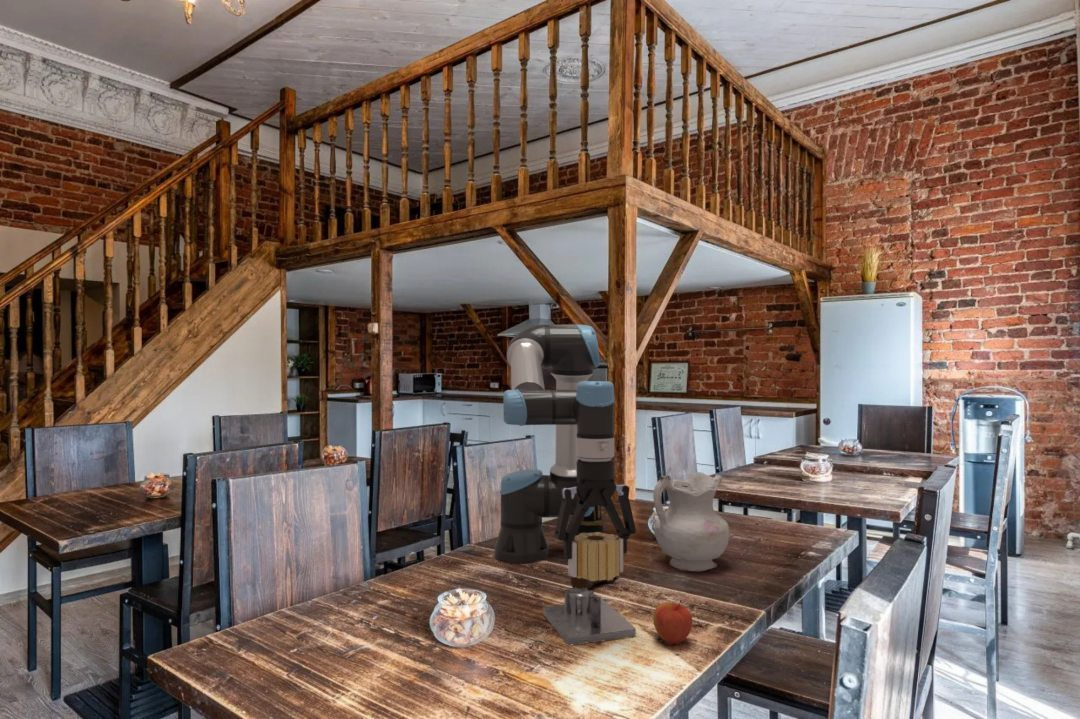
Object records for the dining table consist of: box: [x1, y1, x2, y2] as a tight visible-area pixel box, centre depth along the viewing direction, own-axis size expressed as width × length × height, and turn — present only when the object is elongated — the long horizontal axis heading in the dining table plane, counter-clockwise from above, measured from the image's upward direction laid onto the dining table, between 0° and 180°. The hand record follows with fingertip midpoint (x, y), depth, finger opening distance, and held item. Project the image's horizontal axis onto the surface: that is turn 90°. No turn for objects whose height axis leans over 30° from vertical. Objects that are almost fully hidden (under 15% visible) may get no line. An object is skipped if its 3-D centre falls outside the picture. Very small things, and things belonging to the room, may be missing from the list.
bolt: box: [570, 572, 621, 591], centre depth 152 cm, size 6×5×15 cm
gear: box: [573, 532, 620, 581], centre depth 124 cm, size 9×9×7 cm
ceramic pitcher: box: [652, 471, 730, 573], centre depth 167 cm, size 22×20×25 cm
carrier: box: [542, 587, 637, 646], centre depth 128 cm, size 16×14×7 cm
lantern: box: [575, 506, 605, 536], centre depth 196 cm, size 9×9×30 cm
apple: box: [652, 599, 693, 645], centre depth 121 cm, size 7×7×8 cm
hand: (595, 572), depth 124 cm, fingers closed on gear, 9 cm apart
